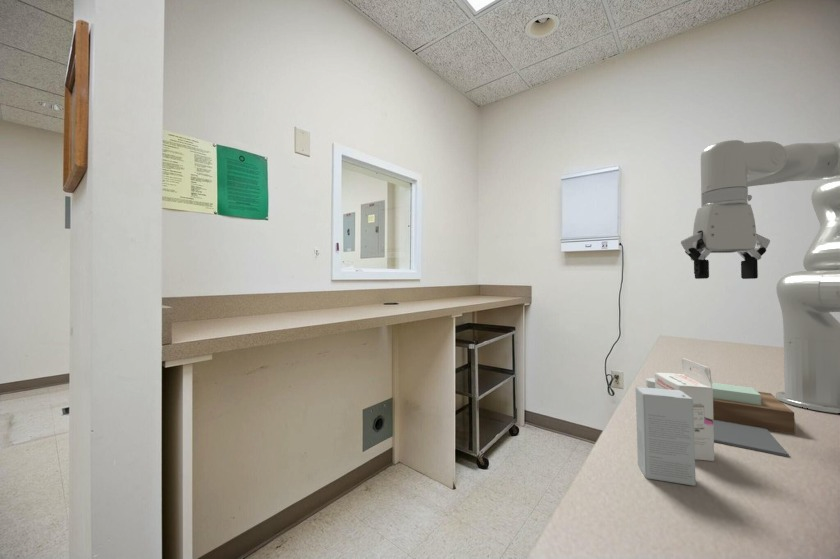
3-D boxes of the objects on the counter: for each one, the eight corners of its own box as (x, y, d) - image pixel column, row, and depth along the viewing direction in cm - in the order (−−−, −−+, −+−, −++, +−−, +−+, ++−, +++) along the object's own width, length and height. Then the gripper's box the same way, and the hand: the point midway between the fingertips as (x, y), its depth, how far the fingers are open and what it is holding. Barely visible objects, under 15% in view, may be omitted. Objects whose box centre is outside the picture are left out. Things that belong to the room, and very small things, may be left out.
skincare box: (683, 471, 49) (681, 389, 49) (696, 487, 45) (695, 398, 45) (635, 463, 51) (634, 385, 51) (644, 478, 47) (643, 393, 47)
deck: (679, 397, 82) (679, 381, 82) (770, 411, 73) (770, 393, 73) (685, 415, 71) (685, 396, 71) (794, 434, 62) (794, 412, 62)
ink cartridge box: (653, 435, 61) (652, 355, 61) (684, 438, 60) (683, 356, 60) (680, 459, 52) (678, 366, 53) (716, 462, 51) (714, 367, 52)
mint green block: (704, 390, 75) (703, 381, 75) (752, 397, 71) (752, 387, 71) (708, 397, 70) (708, 388, 70) (761, 405, 66) (760, 395, 66)
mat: (680, 415, 70) (680, 413, 70) (766, 430, 63) (766, 428, 63) (686, 436, 61) (686, 434, 61) (789, 457, 53) (789, 454, 53)
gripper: (750, 204, 75) (752, 279, 75) (670, 205, 77) (671, 279, 76) (784, 195, 68) (786, 278, 67) (694, 196, 69) (696, 278, 69)
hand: (725, 278), depth 72 cm, fingers open, 9 cm apart
